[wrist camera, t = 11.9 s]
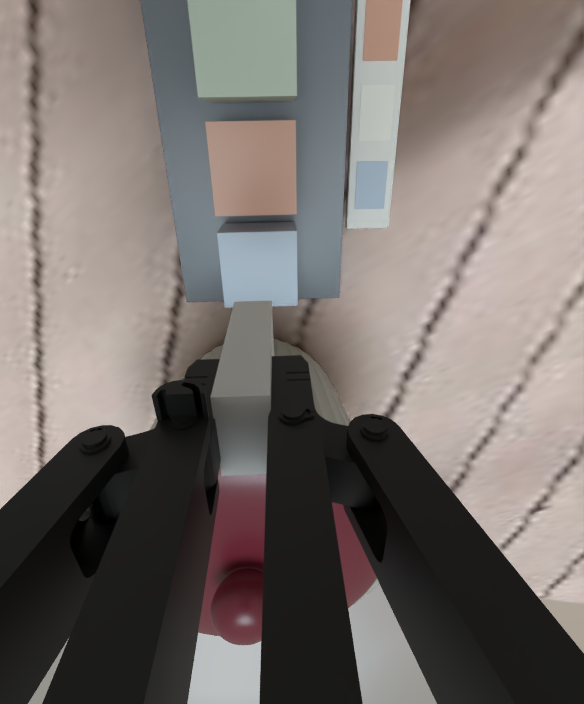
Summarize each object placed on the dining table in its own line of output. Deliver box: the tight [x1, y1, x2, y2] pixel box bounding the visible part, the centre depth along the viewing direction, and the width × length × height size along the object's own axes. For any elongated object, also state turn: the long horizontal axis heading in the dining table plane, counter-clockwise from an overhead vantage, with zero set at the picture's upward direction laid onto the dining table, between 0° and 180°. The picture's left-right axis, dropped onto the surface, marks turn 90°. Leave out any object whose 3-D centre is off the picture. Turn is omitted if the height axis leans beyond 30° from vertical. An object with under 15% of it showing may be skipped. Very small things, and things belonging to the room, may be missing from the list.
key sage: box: [187, 0, 297, 103], centre depth 20 cm, size 5×5×3 cm
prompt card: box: [346, 0, 410, 229], centre depth 27 cm, size 15×3×1 cm, turn 1°
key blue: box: [217, 222, 298, 308], centre depth 27 cm, size 5×5×3 cm
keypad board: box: [140, 0, 352, 302], centre depth 25 cm, size 25×12×4 cm, turn 1°
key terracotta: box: [205, 120, 297, 216], centre depth 24 cm, size 5×5×3 cm
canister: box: [150, 339, 379, 645], centre depth 28 cm, size 18×18×21 cm
